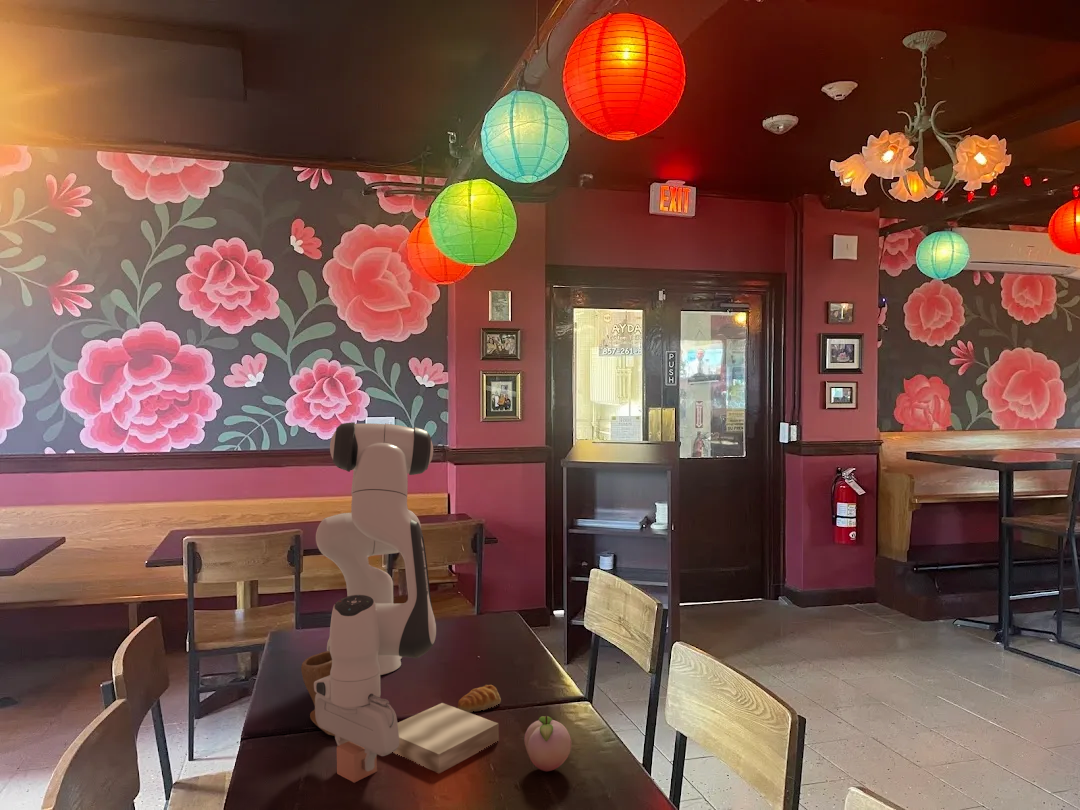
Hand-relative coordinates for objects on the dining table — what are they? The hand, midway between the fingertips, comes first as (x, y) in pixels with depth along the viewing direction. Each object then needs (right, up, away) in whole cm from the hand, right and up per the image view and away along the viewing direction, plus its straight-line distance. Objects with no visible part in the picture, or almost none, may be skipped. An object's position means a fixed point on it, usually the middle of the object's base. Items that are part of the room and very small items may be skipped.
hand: (356, 763), depth 140 cm
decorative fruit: (+35, -1, 0) cm, 35 cm away
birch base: (+14, -2, +11) cm, 18 cm away
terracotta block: (0, -2, 0) cm, 2 cm away
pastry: (+20, -1, +29) cm, 35 cm away
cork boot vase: (-9, -2, +19) cm, 21 cm away
